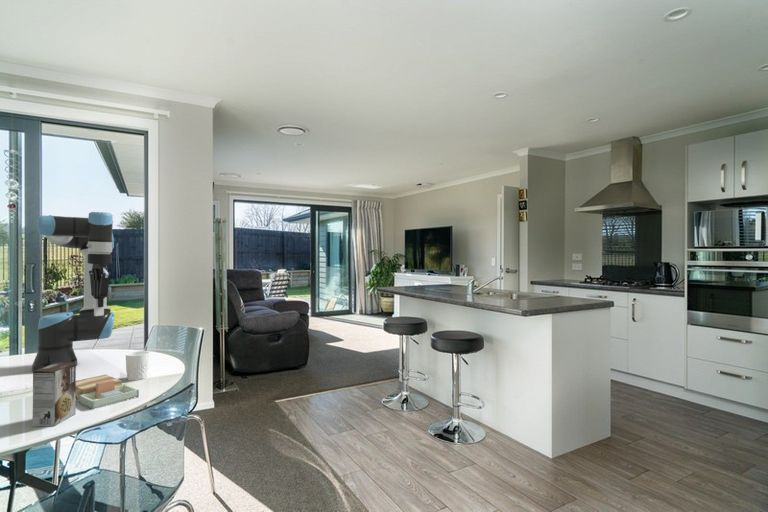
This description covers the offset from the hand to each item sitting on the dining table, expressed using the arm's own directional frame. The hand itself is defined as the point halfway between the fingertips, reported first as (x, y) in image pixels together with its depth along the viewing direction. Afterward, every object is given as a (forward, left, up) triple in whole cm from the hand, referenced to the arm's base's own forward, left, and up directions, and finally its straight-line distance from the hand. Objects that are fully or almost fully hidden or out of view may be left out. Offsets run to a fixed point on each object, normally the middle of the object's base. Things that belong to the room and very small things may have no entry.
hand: (98, 315), depth 152 cm
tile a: (+16, -5, -23) cm, 29 cm away
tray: (+21, -5, -26) cm, 34 cm away
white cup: (+3, +13, -27) cm, 30 cm away
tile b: (+22, -5, -24) cm, 33 cm away
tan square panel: (+9, -4, -26) cm, 28 cm away
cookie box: (+26, -21, -27) cm, 43 cm away
